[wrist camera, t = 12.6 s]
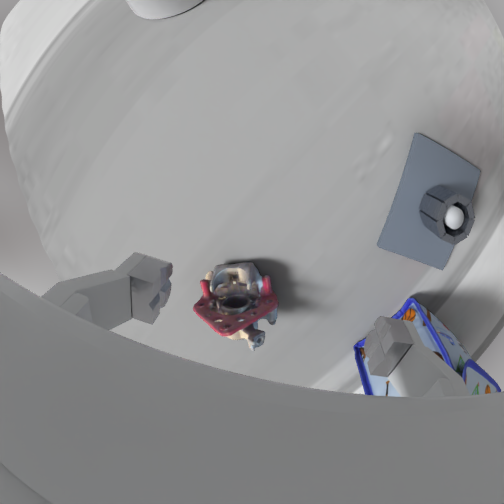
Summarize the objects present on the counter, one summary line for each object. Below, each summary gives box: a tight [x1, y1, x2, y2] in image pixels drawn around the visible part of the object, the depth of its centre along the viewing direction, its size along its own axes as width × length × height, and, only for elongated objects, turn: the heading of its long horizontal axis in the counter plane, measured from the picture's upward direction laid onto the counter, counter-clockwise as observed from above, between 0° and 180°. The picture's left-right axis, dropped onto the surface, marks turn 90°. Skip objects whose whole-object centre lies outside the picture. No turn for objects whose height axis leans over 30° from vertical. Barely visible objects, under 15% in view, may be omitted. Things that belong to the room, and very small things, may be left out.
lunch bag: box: [354, 298, 501, 397], centre depth 27 cm, size 23×17×27 cm
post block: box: [377, 133, 481, 270], centre depth 27 cm, size 16×12×6 cm
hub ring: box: [419, 185, 475, 245], centre depth 27 cm, size 6×6×5 cm
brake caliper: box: [193, 262, 279, 351], centre depth 36 cm, size 11×11×12 cm
